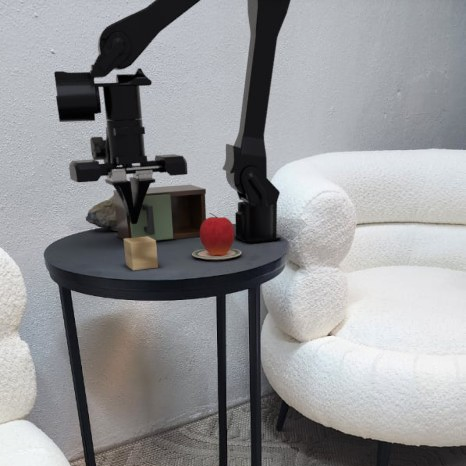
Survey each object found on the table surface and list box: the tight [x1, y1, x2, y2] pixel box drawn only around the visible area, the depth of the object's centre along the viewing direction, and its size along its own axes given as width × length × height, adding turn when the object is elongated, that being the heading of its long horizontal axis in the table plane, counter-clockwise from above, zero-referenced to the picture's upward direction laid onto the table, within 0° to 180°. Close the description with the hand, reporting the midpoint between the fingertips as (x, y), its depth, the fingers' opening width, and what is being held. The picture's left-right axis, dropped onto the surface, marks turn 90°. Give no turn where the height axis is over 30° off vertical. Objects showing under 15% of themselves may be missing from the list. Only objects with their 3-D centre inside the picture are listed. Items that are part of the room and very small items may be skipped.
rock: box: [85, 194, 118, 232], centre depth 133 cm, size 11×6×10 cm
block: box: [123, 236, 159, 271], centre depth 105 cm, size 4×4×4 cm
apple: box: [191, 212, 242, 261], centre depth 110 cm, size 8×8×6 cm
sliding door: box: [130, 194, 174, 241], centre depth 120 cm, size 8×4×7 cm, turn 113°
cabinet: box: [112, 184, 207, 242], centre depth 126 cm, size 15×8×8 cm, turn 113°
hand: (134, 223), depth 118 cm, fingers closed
